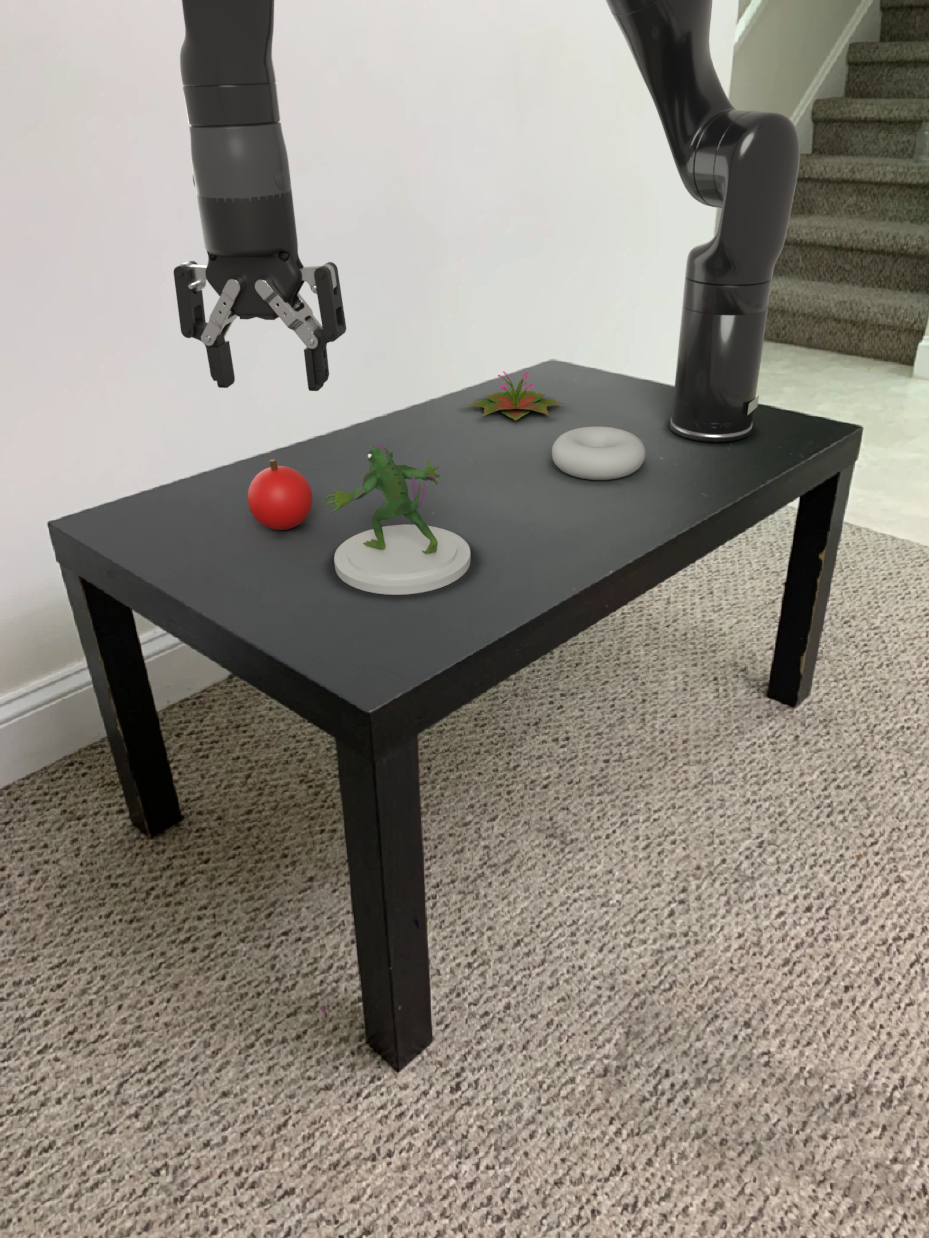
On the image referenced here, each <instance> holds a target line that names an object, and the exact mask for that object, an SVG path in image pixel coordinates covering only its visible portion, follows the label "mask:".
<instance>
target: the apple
mask: <svg viewBox="0 0 929 1238" xmlns="http://www.w3.org/2000/svg"><path fill="white" fill-rule="evenodd" d="M269 466H270V467H267V468H265V469H262V470H261V471H260V472H258V473H257V474H256V475H255V476H254V477H253V479H252V480H251V482H250V484H249V487H248V491H247V504H248V508H249V510H250V512H251V514H252V516H253V517H254V519H256V521H257V522H258V523H260V524H261V525H263V526H264V527H266V528H269V529H270V530H275V531H286V530H290V529H293V528H295V527H297V526H299V525H301V524H302V523H303V522H304V521H305V520H306V518H307V517H308V515H309V514H310V512H311V509H312V506H313V492H312V488H311V485H310V483H309V481H308V480H307V479H306V478H305V476H304V475H303V474H301V472H299V471H298V470H296V469H294V468H292V467H289V466H285V465H278V463H277V460H276V459H275V458H272V459H269Z"/></svg>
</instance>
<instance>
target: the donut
mask: <svg viewBox="0 0 929 1238" xmlns="http://www.w3.org/2000/svg"><path fill="white" fill-rule="evenodd" d="M551 455H552V461H553V463H554V465H555V466H556V467H557V468H559V470H560V471H561V472H562V473H565V474H567V475H569V476H572V477H575V478H578V479H579V478H580V479H582V480H591V481H608V480H610V481H611V480H617V479H621V478H624V477H627V476H630V475H631V474H633V473H635V472H636V471H637V470H639V469H640V468H641V466H642V465H643V463H644V461H645V458H646V449H645V446H644V443H643V442H642V440H641V439H640V438H639V437H637V436H636V435H635V434H634V433H631V432H629V431H626V430H624V429H620V428H616V427H609V426H583V427H578V428H574V429H571V430H568V431H565V432H564V433H562V434H561V435H559V436H558V437H557V438H556V439H555V441H554V443H553V444H552V447H551Z"/></svg>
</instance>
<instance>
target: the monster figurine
mask: <svg viewBox="0 0 929 1238" xmlns="http://www.w3.org/2000/svg"><path fill="white" fill-rule="evenodd" d="M368 441H369V442H370V443H371V445H372V449H371V450H369V451H368V453H367V460H368V462H369V464H368V469H369V472H367V473H366V474H365V475H364V477H363V479H362V480H363V481H362V486H358V487H356V488H354V489H353V490H352V491H350V492H345V491H342V490H339V489H333V492H334V493H329V494H328V495H326V497H325V498H324V500H328V499H330V498H334V499H331V500H329V501H327V502H326V503H324V504H323V506H324V507H325V506H328V505H332V504H333V505H336V507H335V508H334V509H333V510H332V511H331V512H330V513H331V514H332V513H335V512H336V511H338V510H340V509H342V508H343V507H345V506H347V505H348V504H350V503H351V502H353V501H357V500H360V499H362V498H364V497H366V496H367V495H369V493H371V492H372V491H373V490H374V489H376V490H378V491H380V493H382V497H383V498H382V499H383V504H381V506H379V507H378V508H377V509H376V510H375V511H374V512H373V513H372V517H371V521H372V528H371V529H367V530H365V531H361V532H359V533H357V534H355V535H353V536H351V537H349V538H348V539H346V540H344V542H342V543H341V544H340V545H339V546H338V547H337V548H336V550H335V553H334V555H333V556H334V557H333V562H334V569H335V573H336V575H337V576H338V578H339V579H341V581H342V582H344V583H345V584H347V585H348V586H351V587H353V588H355V589H358V590H361V591H364V592H368V593H373V594H380V595H390V596H391V595H394V596H396V595H397V596H401V595H414V594H415V595H416V594H422V593H427V592H431V591H435V590H437V589H441V588H443V587H445V586H448V585H450V584H453V583H454V582H456V581H458V580H459V579H460V578H461V577H463V576H464V575H465V574H466V573H467V571H468V570H469V568H470V567H471V561H472V559H471V548H470V545H469V544H468V542H467V541H466V539H464V538H462V536H460V535H459V534H456V533H455V532H453V531H450V530H447V529H445V528H441V527H437V526H431V525H428V524H427V523H426V522H425V521H424V520H423V519H422V517H421V515H420V514H419V512H418V511H417V510H418V508H419V507H422V506H423V505H424V503H425V501H426V496H427V482H426V481H431V482H433V483H435V485H438V484H439V482H438V480H437V478H440V477H441V474H440V473H436V472H435V471H436V470H438V469H439V466H437V465H436V466H432V465H431V463H430V460H429V459H427V460H426V467H425V469H424V470H421V469H418V468H416V467H413V466H409V465H406V464H399V465H398V464H396V463H395V461H394V459H393V452H391V451H389V450H388V449H387V448H386V447H384V445H382V444H381V442H378V443H377V444H376V445H374V444H373V442H372V440H371V438H368ZM419 479H421V480H423V481H425V482H424V485H422V483H421V482H419V483H417V481H416V480H419ZM406 480H411V486H412V487H411V488H412V494H413V501H412V500H411V499H410V497H409V489H408V485H407V481H406ZM401 515H403V516H404V517H405V518H406V519H408V520H409V522H412V523H413V524H394V525H393V524H392V525H386V526H382V524H381V521H385V520H391V519H393V518H395V517H398V516H401Z"/></svg>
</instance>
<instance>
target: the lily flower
mask: <svg viewBox="0 0 929 1238" xmlns="http://www.w3.org/2000/svg"><path fill="white" fill-rule="evenodd" d="M502 373H503V374H504V375H505V376H506V378H505V377H504V376H502V375H501V374H497V377H499V378H501V379H503V380H504V381H505V382H504V385H505V386H506V387H508V388H509V389H508V388H506V387H505V386H503V385H500V388H501V389H502V390H504V391H498V392H497V391H496V392H494V393H491V394H486V395H484V397H486V398H487V399H480V400H477V401H474V402H472V403H469V404H467V406H470V407H477V408H478V407H479V408H484V409H483V414H482V415H481V417H484V416H487V415H489V414H491V413H495V412H497V411H500V410H501V413H502V414H503V415H505V416H507V417H508V418H510V419H512V420H514V421H517V420H519V419H521V417H524V416H525V415H528V414H529V413H530V412H531V411H534V412H537V413H541V414H545V415H547V416H550V413H549V411H548V407H551V406H559V405H566V403H565V402H560V401H556V400H555V399H549V398H545V399H543V398H544V396H547V394H546V393H541V392H536V391H532V390H529V389H530V388H532V387H533V386H534V385H535V384H534V383H533V382H532V383H530V384H529V385H528V386H527V387H525V386H526V385H527V382H524V381H525V379H527V378H528V377H529V375H530V374H529V370H527V371H526V372H525V373H524V375H523V376H522V378H521V379H520V381H519V382H518V385H517V387H516V388H515V387H514V384H513V382H512V380H511V379H510V377H509V376H508V374H507V373H506V372H505V370H503V371H502ZM523 387H525V388H524V390H522V389H523ZM527 390H528V391H527Z"/></svg>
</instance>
